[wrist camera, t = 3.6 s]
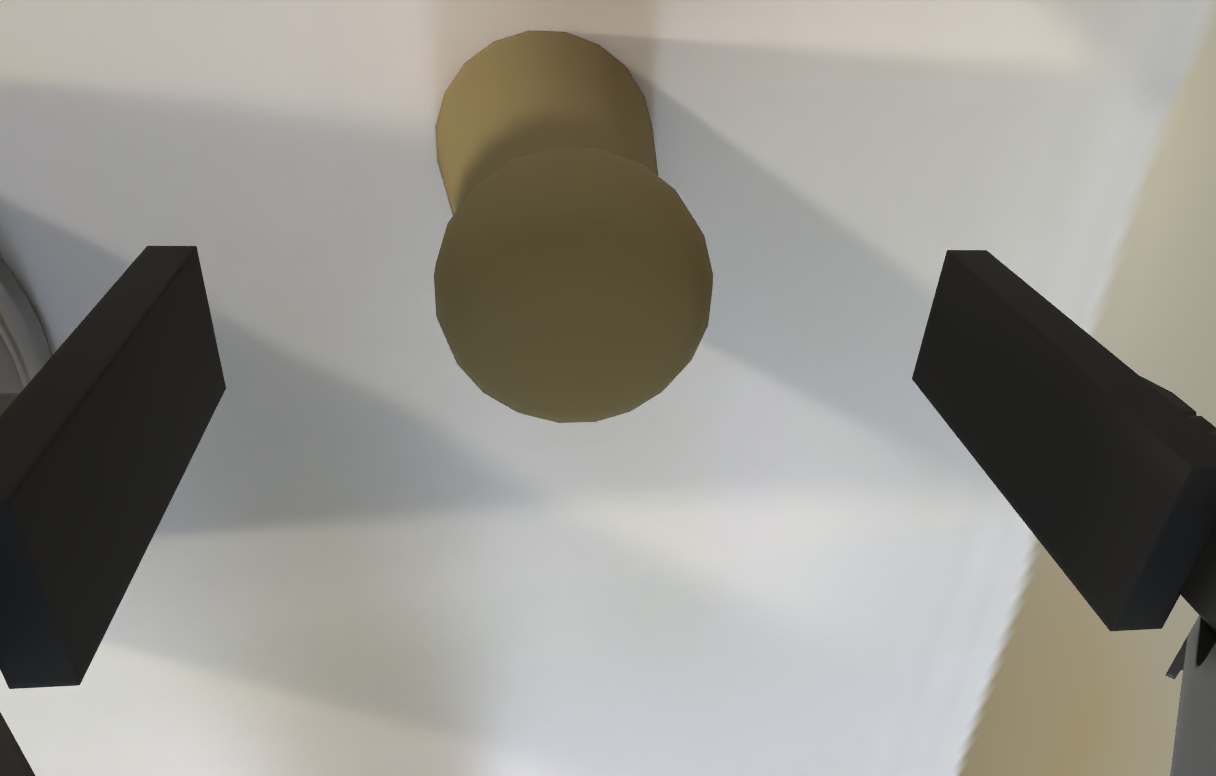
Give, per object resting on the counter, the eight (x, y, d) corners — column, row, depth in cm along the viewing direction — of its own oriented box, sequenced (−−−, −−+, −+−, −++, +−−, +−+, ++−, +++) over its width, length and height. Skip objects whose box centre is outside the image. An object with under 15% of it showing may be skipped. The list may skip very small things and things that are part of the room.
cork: (675, 53, 23) (801, 193, 14) (627, 260, 26) (704, 486, 17) (448, 8, 22) (421, 128, 13) (424, 230, 25) (389, 457, 16)
